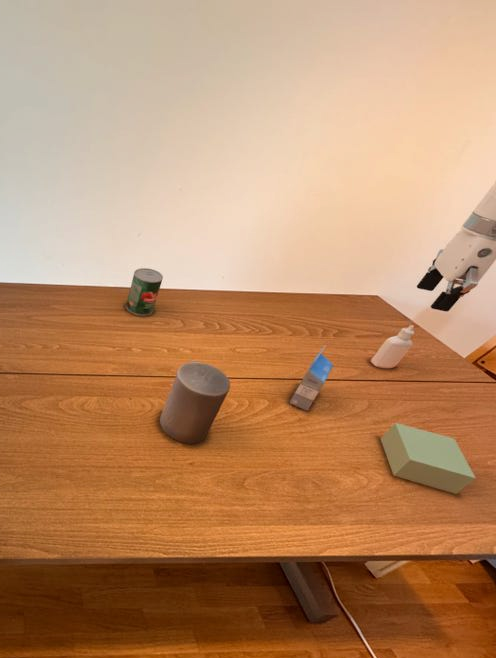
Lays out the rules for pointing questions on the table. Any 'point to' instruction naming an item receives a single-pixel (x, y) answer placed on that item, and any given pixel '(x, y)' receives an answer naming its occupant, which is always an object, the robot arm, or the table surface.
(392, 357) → the eye dropper bottle
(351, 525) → the table surface
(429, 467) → the block
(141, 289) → the canned tomato
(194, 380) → the pillar candle
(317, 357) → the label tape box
